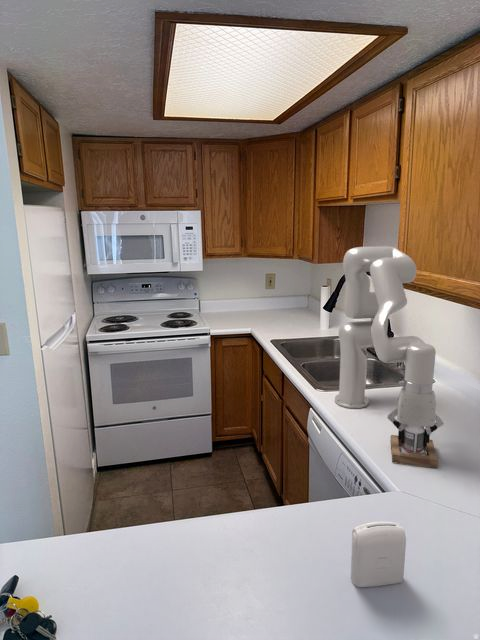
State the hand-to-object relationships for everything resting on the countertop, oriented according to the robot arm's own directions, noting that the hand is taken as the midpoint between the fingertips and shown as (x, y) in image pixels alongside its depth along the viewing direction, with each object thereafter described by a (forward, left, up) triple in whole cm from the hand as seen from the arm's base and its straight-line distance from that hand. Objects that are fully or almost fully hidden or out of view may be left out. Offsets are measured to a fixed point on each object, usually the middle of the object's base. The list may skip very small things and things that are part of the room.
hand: (413, 442), depth 127 cm
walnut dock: (0, 0, -4) cm, 4 cm away
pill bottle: (0, 0, -3) cm, 3 cm away
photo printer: (+50, -11, -4) cm, 52 cm away
